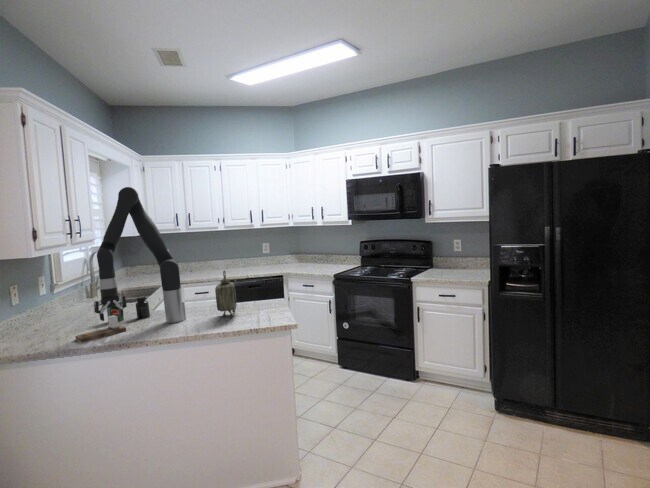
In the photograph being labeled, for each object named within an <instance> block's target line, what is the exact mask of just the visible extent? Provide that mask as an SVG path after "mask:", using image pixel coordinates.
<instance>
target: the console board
mask: <svg viewBox="0 0 650 488" xmlns="http://www.w3.org/2000/svg"><path fill="white" fill-rule="evenodd" d="M118 326H119V327H120V328H116V329H111V328H109V327H105V328H102V329H101V328H100V329H97V330H92V331H90V332H85V333H81V334H77V335H75V336H74V337H75V341H77V342H80V343H81V344H84V343H87V342H91V341H95V340H99V339H102V338H105V337H106V338H107V337H109V336H113V335H117V334H120V333H125V332H127V327H126V326H123V325H122V324H118Z"/></svg>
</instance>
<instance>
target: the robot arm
mask: <svg viewBox="0 0 650 488" xmlns="http://www.w3.org/2000/svg"><path fill="white" fill-rule="evenodd" d="M117 195H118V196H117V197H118V198H117V203H116V206H115V209H114V212H113V215H112V216H111V219H110V221H109V224H108V226H107V228H106V231H105V232H104V235H103V239H102V242H101V244H100V246H99V248H98V250H97V253H96V259H97V264H98V265H97V266H98V276H99V290H100V300H94V301H93V303H94V304H93V305H94V307H93V308H94V309H93V310H94V313H95V314H99V315H98V316H99V320H100V321H101V322H104V321H105V316H104V315H105V313H104V312H105V310H107V308H109V307H114V306H117V307H118V308H119V316H120V317H122V315H123V316H124V309H125V308H127V301H126V296H124V295H121V296H119V293H118V291H119V290H118V283H117V277H116V271H115V265H114V253H115V250H116V247H117V245H118V244H119V242H120V240H121V237H122V235H123V232H124V229H125V226H126V222H127V219H128V217H129V215H130V218H131V219H132V222H133V224H134V226H135V228H136V231H137V233H138V234H139V236H140V238H141V240H142V242H143V243H144V244H145V246H146V247H147V249H148V250H149V251H150V252H151V254H152V255H153V256H154V258H155V259H156V262H157V265H158V266H159V272H160V282H161V288H162V297H163V304H164V305H163V306H164V312H165V322H166V323H167V324H173V323H178V322H181V321H182V322H183V321H184V320H186V319H187V315H186V307H185V306H186V305H185V302H184V301H183V295H182V286H181V283H182V282H181V277H180V267H179V264H178V263H177V261H176V260H175V259H174V257H173V256H172V254H171V253H170V252H169V250H168V248H167V246H166V243H165V241H164V238H163V237H162V234H161V232H160V230H159V229H158V227H157V225H156V224H155V221H153V219H152V218H151V217H150V216H149V214H148V213H147V211H146V210H145V208H144V206H143V203H142V202H141V199H140V197H139V192H138V191H137V190H136V189H135V188H133V187H131V186H124V187H123V188H121V189H120V190H119V191H118V194H117ZM118 301H122V306H121V305H120V304H119V303H118ZM101 304H102V305H101ZM100 305H101V307H100Z"/></svg>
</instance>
